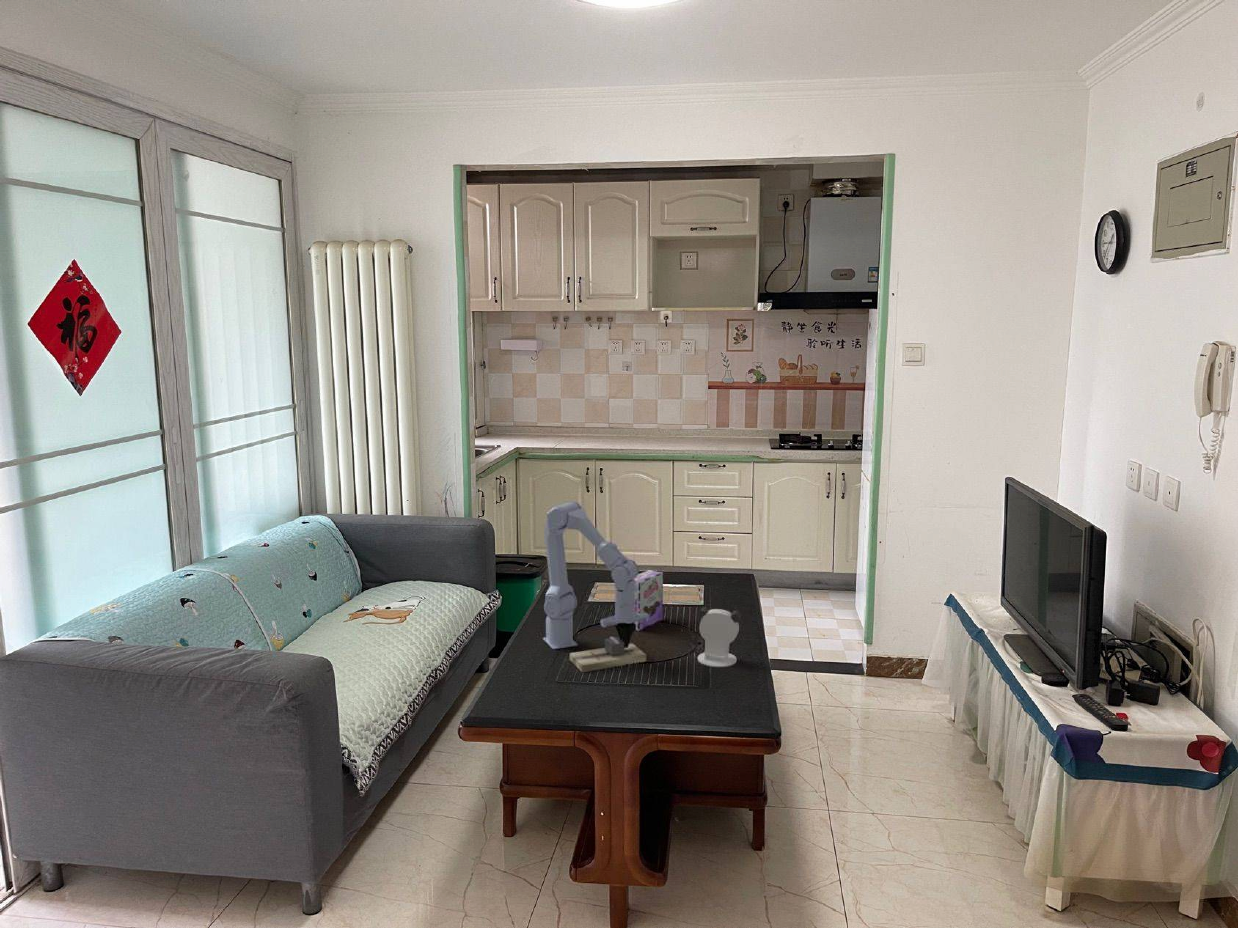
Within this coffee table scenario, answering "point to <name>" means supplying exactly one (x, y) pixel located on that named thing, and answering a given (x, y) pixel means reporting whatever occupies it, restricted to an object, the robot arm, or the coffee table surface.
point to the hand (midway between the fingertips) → (624, 646)
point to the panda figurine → (718, 636)
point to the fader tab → (614, 646)
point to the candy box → (649, 597)
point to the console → (606, 658)
